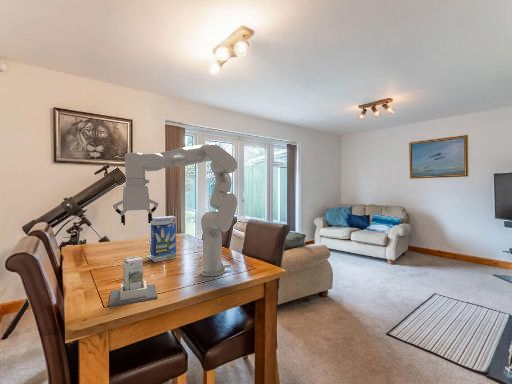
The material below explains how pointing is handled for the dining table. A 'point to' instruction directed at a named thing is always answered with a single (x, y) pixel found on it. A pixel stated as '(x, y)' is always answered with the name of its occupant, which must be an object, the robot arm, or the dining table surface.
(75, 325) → the dining table surface
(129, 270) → the syrup box
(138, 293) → the collar holder
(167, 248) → the string lights box
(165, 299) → the dining table surface
